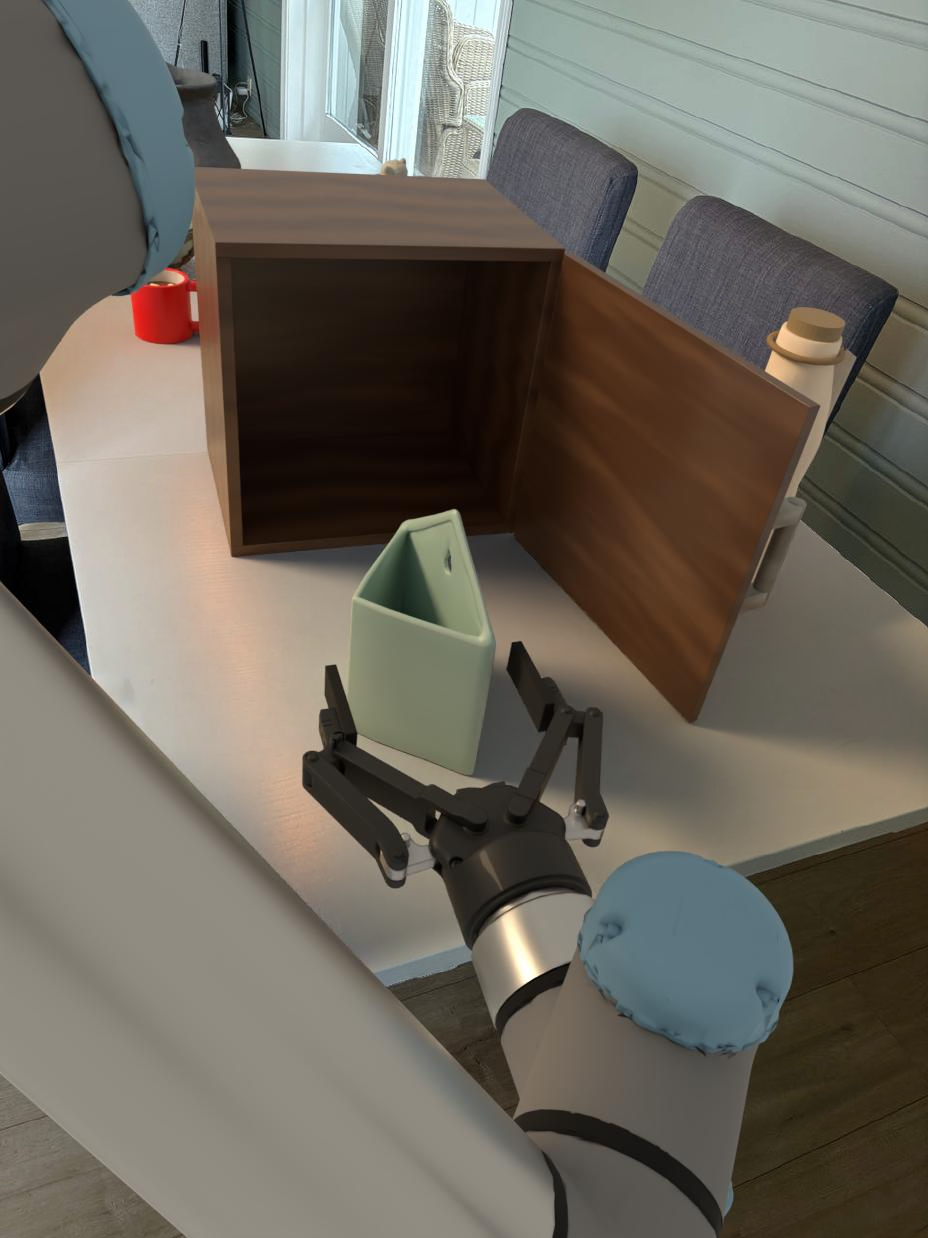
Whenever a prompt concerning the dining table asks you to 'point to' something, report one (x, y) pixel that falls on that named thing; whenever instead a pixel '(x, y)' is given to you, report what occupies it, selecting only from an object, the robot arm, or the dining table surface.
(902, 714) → the dining table surface
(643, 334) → the cupboard door
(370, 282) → the cupboard
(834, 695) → the dining table surface
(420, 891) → the dining table surface
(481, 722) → the planter
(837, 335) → the water bottle
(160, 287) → the mug
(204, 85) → the pitcher
